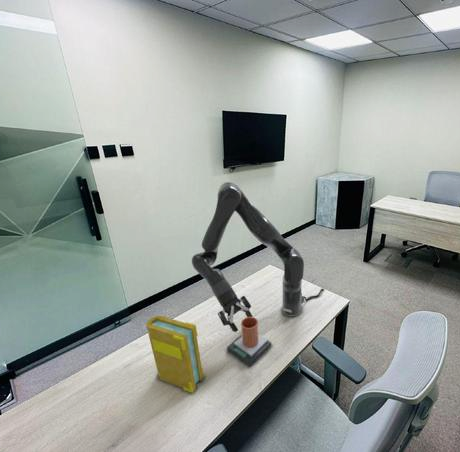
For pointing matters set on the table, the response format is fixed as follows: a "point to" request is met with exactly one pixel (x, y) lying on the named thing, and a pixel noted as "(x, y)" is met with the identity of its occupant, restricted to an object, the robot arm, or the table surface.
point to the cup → (249, 332)
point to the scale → (249, 350)
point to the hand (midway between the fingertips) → (244, 325)
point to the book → (175, 351)
